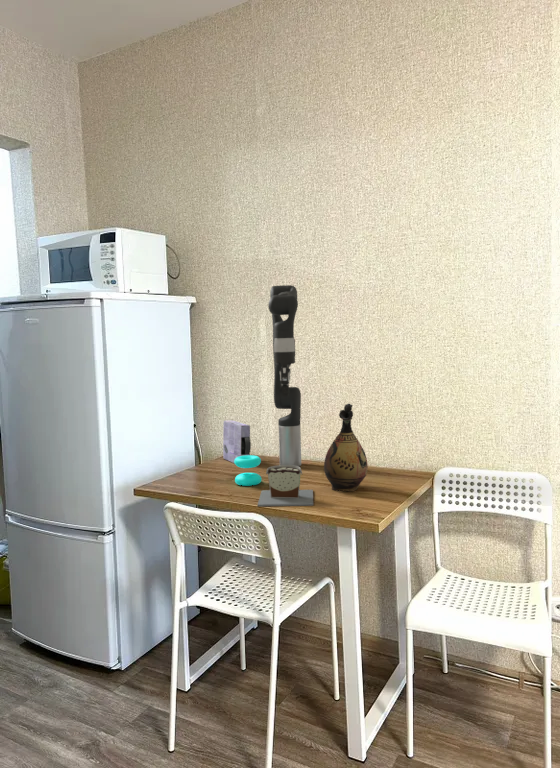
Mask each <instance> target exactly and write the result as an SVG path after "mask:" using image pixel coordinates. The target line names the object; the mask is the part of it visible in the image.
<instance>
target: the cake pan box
mask: <svg viewBox="0 0 560 768" xmlns="http://www.w3.org/2000/svg"><path fill="white" fill-rule="evenodd" d="M222 430H223V432H222V433H223V441H222V442H223V443H222V444H223V446H222V447H223V449H222V450H223V451H222V453H223V454H222V455H223V456H222V457H223V459H224V460H226V461H229V462H230V463H232V464H235V463H234V460H235V458H237V457H239V456H245V455H251V448H252V441H251V426H250V425H249V424H246V423H242V422H240V421H237V420H232V419H227V420H223V429H222Z"/></svg>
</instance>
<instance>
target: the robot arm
mask: <svg viewBox="0 0 560 768" xmlns="http://www.w3.org/2000/svg"><path fill="white" fill-rule="evenodd" d="M269 294H270V295H269V296H270V298H269V300H268V310H269V312H270V314H271V318H272V319H271V320H272V350H273V351H272V352H273V355H272V356H273V367H274V370H273V371H274V374H273V375H274V381H273V383H274V384H273V403H274V406H275V408H276V409H278V410H279V409H280V410H290V413H289V414H287V415H285V416H282V417H280V418H279V419H278V445H279V446H278V449H279V450H278V453H279V465H294V466H298V467H300V466H301V467H302V435H301V434H302V433H301V428H302V427H301V419H302V418H301V416H302V415H301V414H302V413H301V405H302V404H301V401H302V393H301V389H300V388H299V387H298V386H290V381H291V371H292V370H291V365H293V364H295V363H296V339H295V333H294V325H295V318H296V315H297V311H298V306H299V302H298V301H299V300H298V290H297V288H296V287H295V285H290V284H288V285H273V286H271V287H270V293H269ZM282 316H287V318H286V319H285V320H283V318H282Z"/></svg>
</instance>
